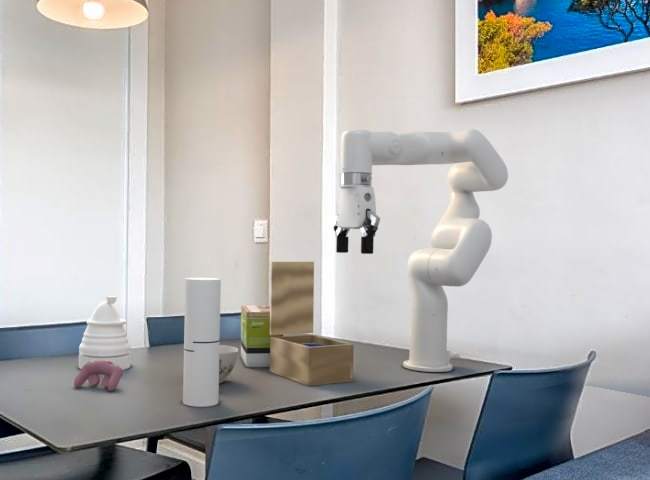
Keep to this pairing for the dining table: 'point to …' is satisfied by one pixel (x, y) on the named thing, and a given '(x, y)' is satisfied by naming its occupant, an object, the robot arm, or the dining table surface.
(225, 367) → the teacup
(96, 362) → the video game controller
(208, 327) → the cylindrical container
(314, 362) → the wooden box
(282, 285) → the lid
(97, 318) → the honey pot
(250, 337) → the tea box
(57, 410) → the dining table surface
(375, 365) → the dining table surface
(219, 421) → the dining table surface
